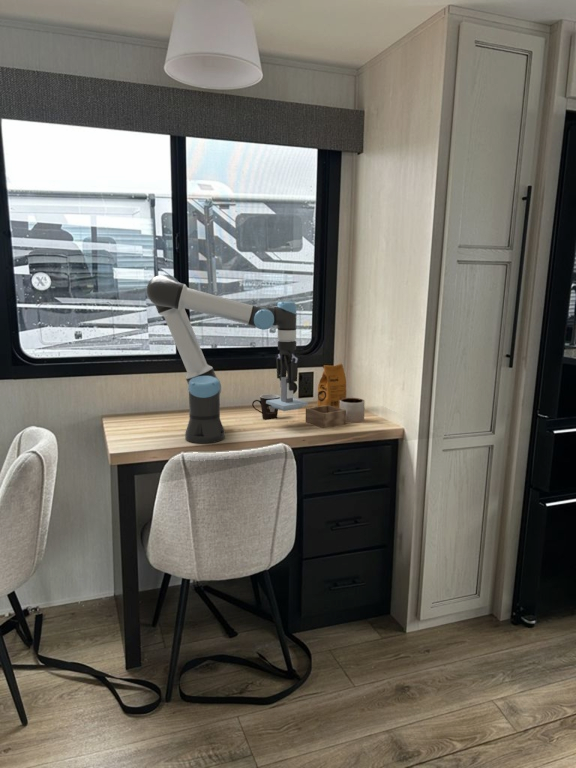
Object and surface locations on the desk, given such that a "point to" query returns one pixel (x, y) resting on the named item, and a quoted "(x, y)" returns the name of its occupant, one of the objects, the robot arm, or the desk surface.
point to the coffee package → (332, 386)
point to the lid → (286, 403)
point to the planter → (353, 409)
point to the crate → (325, 416)
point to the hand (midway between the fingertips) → (286, 397)
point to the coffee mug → (267, 406)
